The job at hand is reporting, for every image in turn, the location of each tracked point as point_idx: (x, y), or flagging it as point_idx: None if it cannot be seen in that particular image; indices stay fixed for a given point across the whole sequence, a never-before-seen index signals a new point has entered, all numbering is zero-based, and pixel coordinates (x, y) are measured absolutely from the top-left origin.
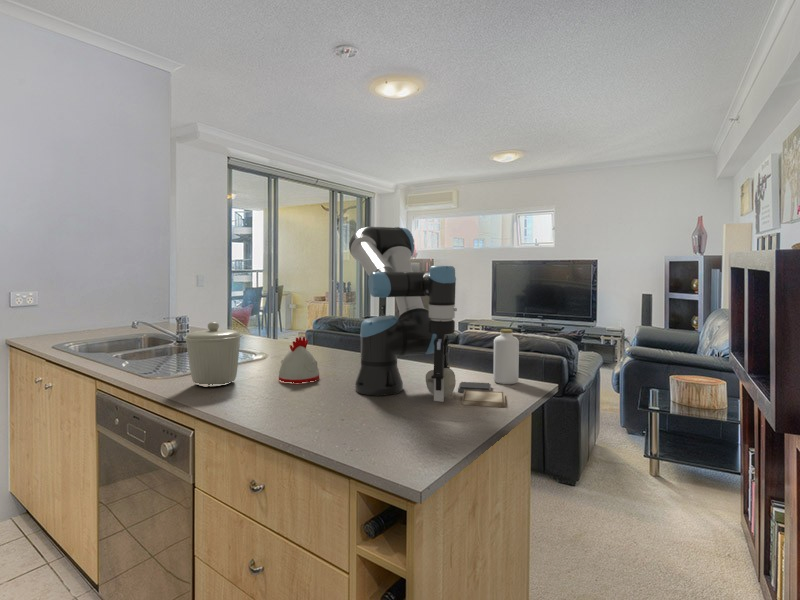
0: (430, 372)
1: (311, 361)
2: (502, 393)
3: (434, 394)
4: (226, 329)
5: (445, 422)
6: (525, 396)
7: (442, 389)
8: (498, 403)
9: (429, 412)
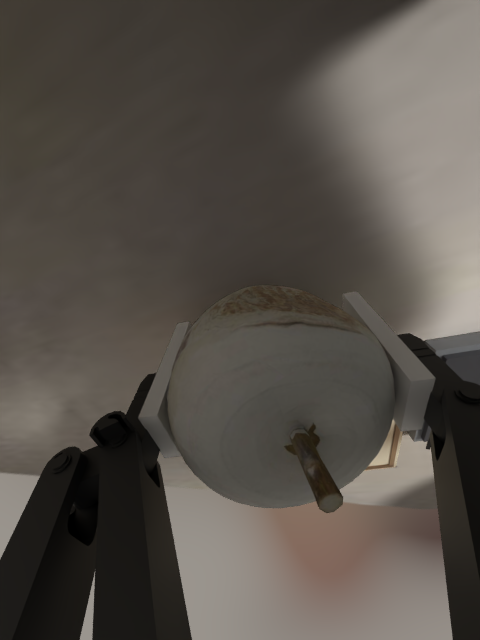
0: (194, 402)
1: None
2: (374, 467)
3: (170, 344)
4: None
5: (38, 394)
6: (386, 488)
7: None
8: None
9: (89, 324)
